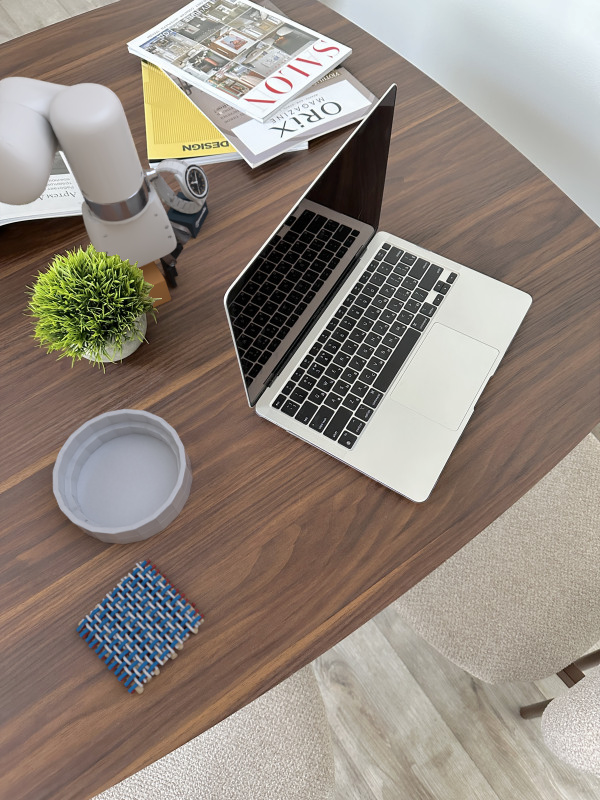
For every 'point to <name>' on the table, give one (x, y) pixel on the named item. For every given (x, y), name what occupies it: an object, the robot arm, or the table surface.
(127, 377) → the table surface
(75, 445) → the gray bowl
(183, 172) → the watch
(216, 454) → the table surface
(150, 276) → the brown rectangular block
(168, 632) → the woven mat
